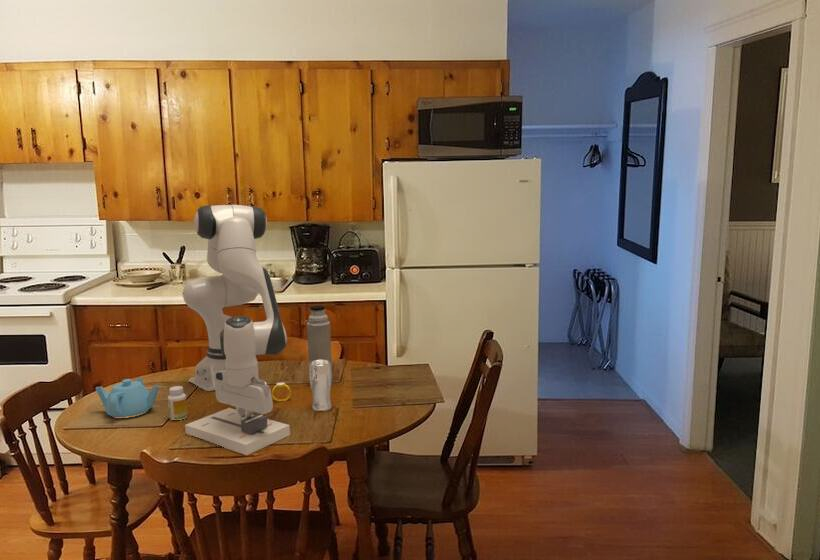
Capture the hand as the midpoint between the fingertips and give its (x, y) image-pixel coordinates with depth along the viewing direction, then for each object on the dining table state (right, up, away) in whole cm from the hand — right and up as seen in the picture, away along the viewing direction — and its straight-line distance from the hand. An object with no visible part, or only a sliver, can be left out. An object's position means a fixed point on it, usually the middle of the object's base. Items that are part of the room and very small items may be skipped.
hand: (245, 422), depth 188 cm
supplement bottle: (-25, -3, +17) cm, 30 cm away
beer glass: (+19, -1, +23) cm, 30 cm away
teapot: (-42, -2, +24) cm, 49 cm away
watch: (+4, 0, +31) cm, 31 cm away
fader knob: (+3, -2, -2) cm, 4 cm away
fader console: (-3, -4, +3) cm, 6 cm away
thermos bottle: (+15, +3, +46) cm, 48 cm away
